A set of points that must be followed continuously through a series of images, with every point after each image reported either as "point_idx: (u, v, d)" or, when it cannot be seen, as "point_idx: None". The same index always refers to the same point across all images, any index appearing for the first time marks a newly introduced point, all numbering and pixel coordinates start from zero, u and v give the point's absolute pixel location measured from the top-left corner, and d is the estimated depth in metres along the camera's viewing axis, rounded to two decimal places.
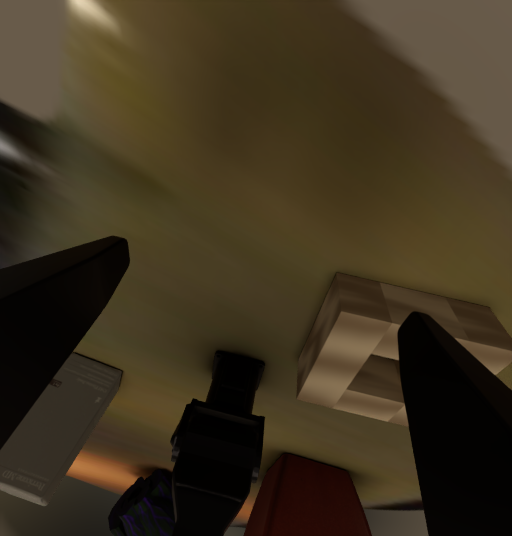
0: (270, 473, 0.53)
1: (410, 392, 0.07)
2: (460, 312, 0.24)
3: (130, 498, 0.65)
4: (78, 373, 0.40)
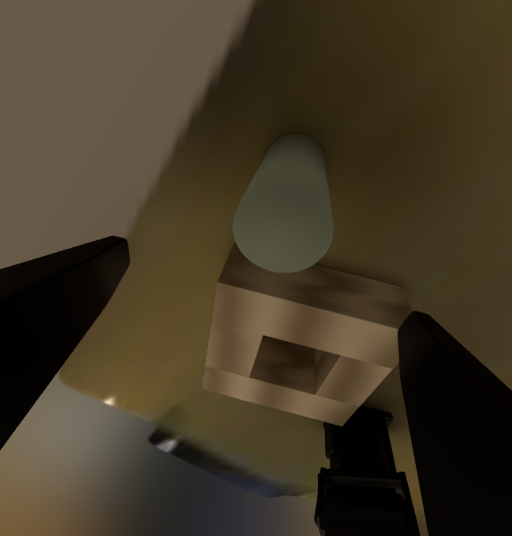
0: None
1: (410, 392, 0.07)
2: None
3: None
4: None
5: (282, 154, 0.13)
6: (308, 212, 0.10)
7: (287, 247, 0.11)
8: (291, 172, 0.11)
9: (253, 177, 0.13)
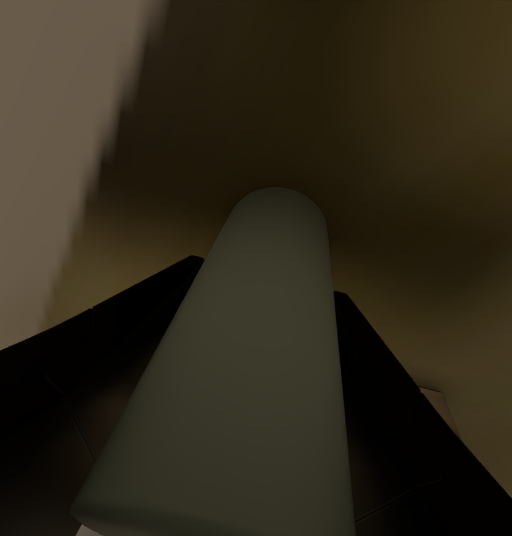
0: None
1: None
2: None
3: None
4: None
5: (235, 269, 0.06)
6: None
7: None
8: (229, 399, 0.04)
9: (170, 323, 0.06)
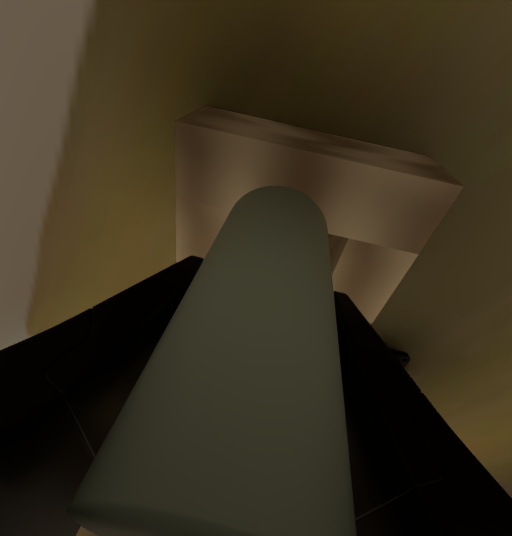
0: None
1: None
2: None
3: None
4: None
5: (234, 268, 0.06)
6: None
7: None
8: (229, 399, 0.04)
9: (169, 322, 0.06)
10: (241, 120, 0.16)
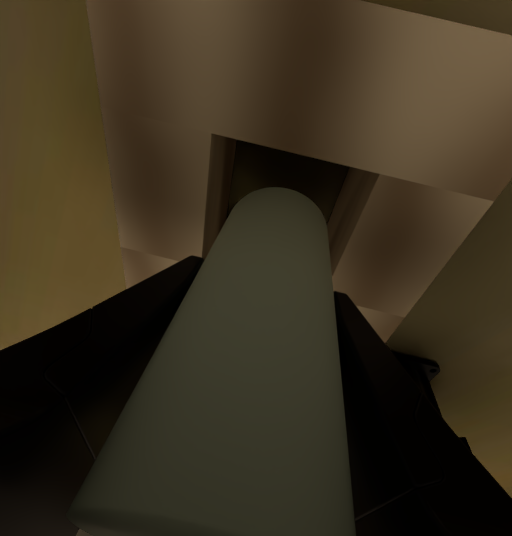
0: None
1: None
2: None
3: None
4: None
5: (234, 270, 0.06)
6: None
7: None
8: (228, 403, 0.04)
9: (169, 324, 0.06)
10: None
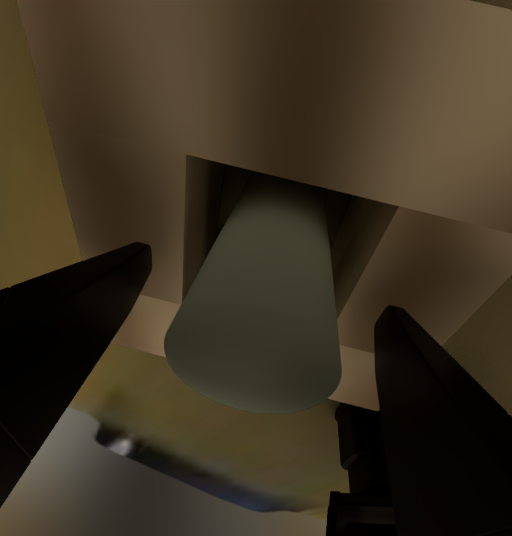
0: None
1: (383, 385, 0.07)
2: None
3: None
4: None
5: (257, 210, 0.08)
6: (294, 346, 0.06)
7: (261, 385, 0.07)
8: (263, 266, 0.06)
9: None
10: None
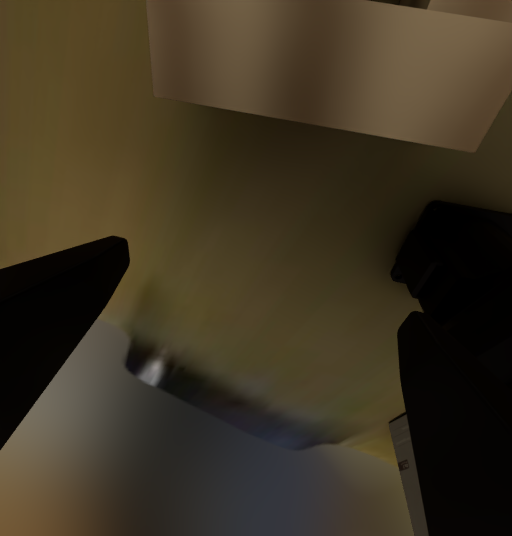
0: None
1: (410, 392, 0.07)
2: None
3: None
4: (408, 438, 0.31)
5: None
6: None
7: None
8: None
9: None
10: None
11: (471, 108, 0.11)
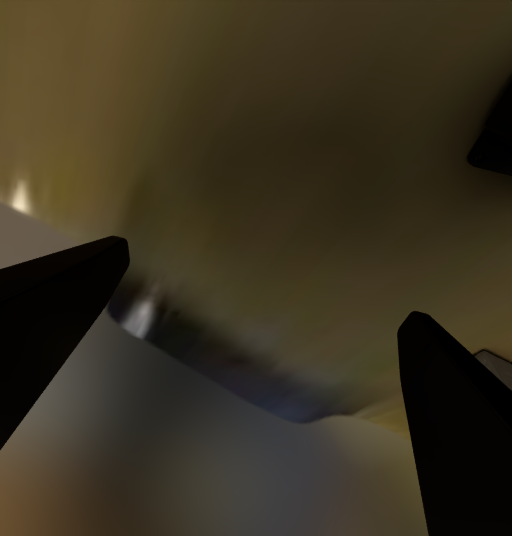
0: None
1: (410, 392, 0.07)
2: None
3: None
4: None
5: None
6: None
7: None
8: None
9: None
10: None
11: None
